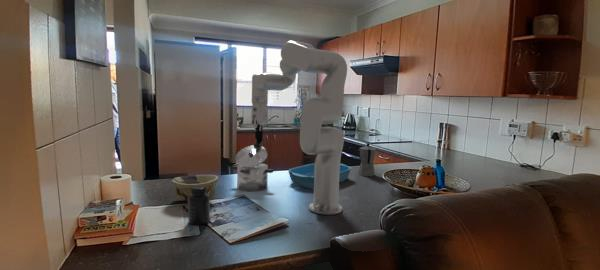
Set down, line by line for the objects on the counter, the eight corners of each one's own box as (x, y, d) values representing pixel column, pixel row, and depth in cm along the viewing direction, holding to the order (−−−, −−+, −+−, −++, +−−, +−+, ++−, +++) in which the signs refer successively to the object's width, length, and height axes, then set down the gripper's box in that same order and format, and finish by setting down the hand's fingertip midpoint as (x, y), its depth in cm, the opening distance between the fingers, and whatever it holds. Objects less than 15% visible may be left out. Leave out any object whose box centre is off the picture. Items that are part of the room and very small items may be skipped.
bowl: (226, 196, 137) (226, 174, 136) (202, 210, 120) (202, 185, 118) (189, 192, 141) (189, 170, 140) (161, 205, 124) (161, 180, 123)
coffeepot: (357, 171, 191) (358, 141, 189) (373, 172, 190) (375, 141, 188) (359, 178, 176) (361, 145, 174) (377, 178, 175) (379, 145, 173)
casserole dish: (315, 194, 145) (316, 178, 144) (279, 184, 160) (279, 170, 159) (357, 179, 173) (358, 166, 173) (323, 172, 188) (324, 160, 187)
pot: (264, 194, 142) (264, 171, 141) (224, 189, 148) (224, 167, 146) (277, 185, 156) (277, 165, 155) (240, 181, 162) (240, 161, 161)
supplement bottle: (202, 216, 114) (201, 183, 113) (213, 221, 110) (213, 186, 108) (184, 221, 109) (183, 186, 107) (195, 227, 104) (195, 191, 103)
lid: (260, 169, 142) (259, 165, 141) (230, 166, 146) (229, 162, 145) (275, 140, 157) (274, 137, 156) (248, 138, 161) (246, 135, 160)
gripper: (260, 101, 146) (259, 141, 148) (272, 100, 160) (272, 137, 163) (245, 100, 148) (244, 140, 151) (259, 100, 163) (258, 136, 165)
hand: (258, 138), depth 157 cm, fingers closed
